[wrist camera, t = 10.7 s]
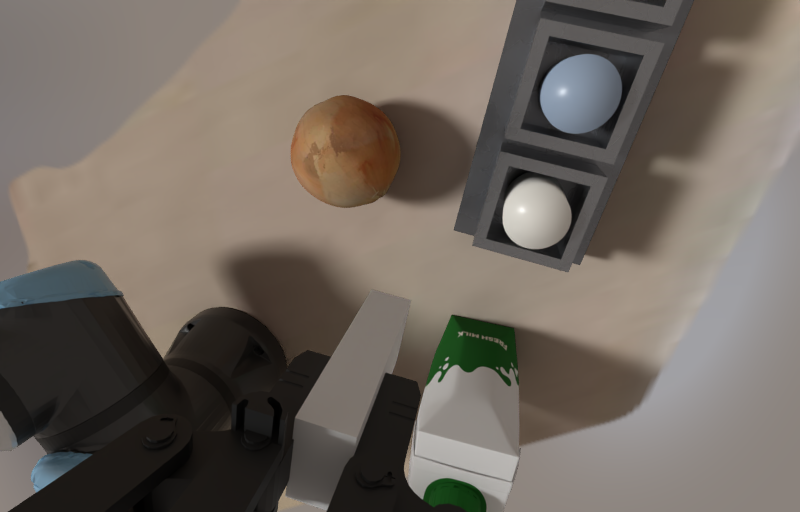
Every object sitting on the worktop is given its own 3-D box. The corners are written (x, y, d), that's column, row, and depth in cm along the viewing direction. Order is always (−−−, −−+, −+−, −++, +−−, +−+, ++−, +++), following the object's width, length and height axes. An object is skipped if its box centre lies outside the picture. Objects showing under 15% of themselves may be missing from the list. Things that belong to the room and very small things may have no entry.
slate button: (529, 117, 35) (531, 124, 30) (550, 49, 33) (556, 46, 28) (592, 131, 34) (603, 141, 30) (618, 63, 32) (635, 63, 27)
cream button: (496, 219, 39) (494, 239, 34) (514, 165, 36) (514, 178, 32) (552, 234, 38) (557, 256, 34) (573, 180, 36) (582, 196, 31)
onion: (374, 211, 46) (341, 246, 37) (300, 151, 45) (248, 171, 36) (431, 139, 41) (409, 158, 32) (350, 70, 41) (305, 71, 32)
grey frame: (457, 220, 44) (446, 249, 37) (552, -128, 32) (564, -185, 25) (575, 252, 42) (588, 289, 35) (723, -101, 30) (788, -154, 23)
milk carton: (434, 369, 52) (392, 526, 34) (445, 304, 48) (404, 443, 30) (508, 386, 50) (504, 561, 32) (525, 321, 47) (532, 478, 29)
